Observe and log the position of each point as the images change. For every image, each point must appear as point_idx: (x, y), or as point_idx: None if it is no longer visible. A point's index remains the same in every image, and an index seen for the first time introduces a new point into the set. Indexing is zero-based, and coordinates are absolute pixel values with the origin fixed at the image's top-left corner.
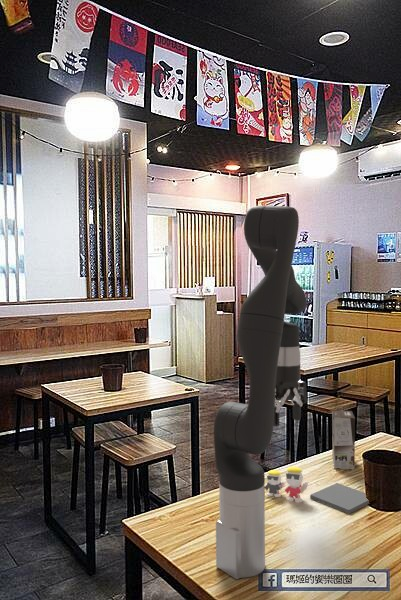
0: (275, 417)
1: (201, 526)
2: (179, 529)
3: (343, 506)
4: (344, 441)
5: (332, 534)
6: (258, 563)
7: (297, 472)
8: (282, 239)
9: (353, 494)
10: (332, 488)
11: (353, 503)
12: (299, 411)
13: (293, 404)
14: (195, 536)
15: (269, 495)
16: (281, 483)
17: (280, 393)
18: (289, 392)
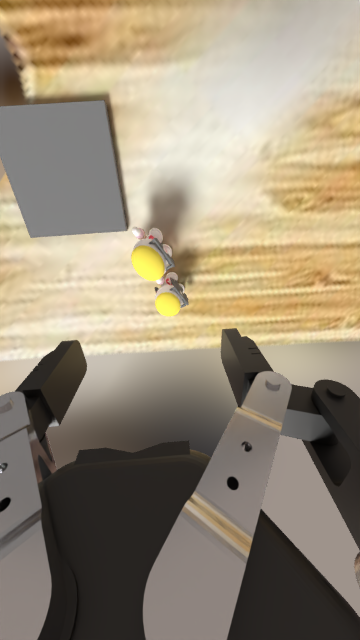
0: (257, 359)
1: (347, 266)
2: None
3: (102, 127)
4: None
5: (217, 50)
6: None
7: (152, 248)
8: None
9: (33, 162)
10: (60, 222)
11: (67, 121)
12: (49, 369)
13: (46, 434)
14: None
15: (183, 286)
16: (163, 282)
17: (302, 565)
18: (163, 567)
